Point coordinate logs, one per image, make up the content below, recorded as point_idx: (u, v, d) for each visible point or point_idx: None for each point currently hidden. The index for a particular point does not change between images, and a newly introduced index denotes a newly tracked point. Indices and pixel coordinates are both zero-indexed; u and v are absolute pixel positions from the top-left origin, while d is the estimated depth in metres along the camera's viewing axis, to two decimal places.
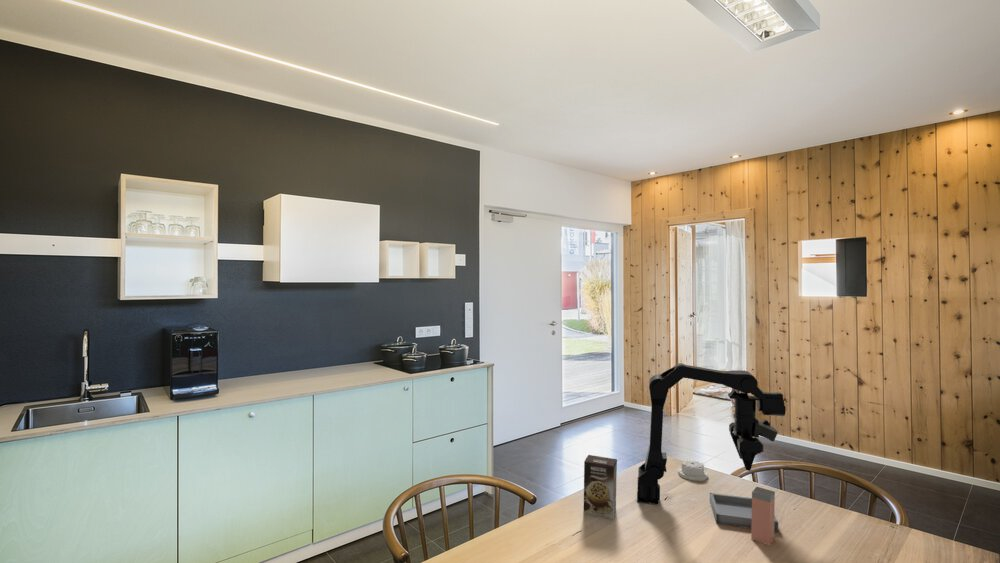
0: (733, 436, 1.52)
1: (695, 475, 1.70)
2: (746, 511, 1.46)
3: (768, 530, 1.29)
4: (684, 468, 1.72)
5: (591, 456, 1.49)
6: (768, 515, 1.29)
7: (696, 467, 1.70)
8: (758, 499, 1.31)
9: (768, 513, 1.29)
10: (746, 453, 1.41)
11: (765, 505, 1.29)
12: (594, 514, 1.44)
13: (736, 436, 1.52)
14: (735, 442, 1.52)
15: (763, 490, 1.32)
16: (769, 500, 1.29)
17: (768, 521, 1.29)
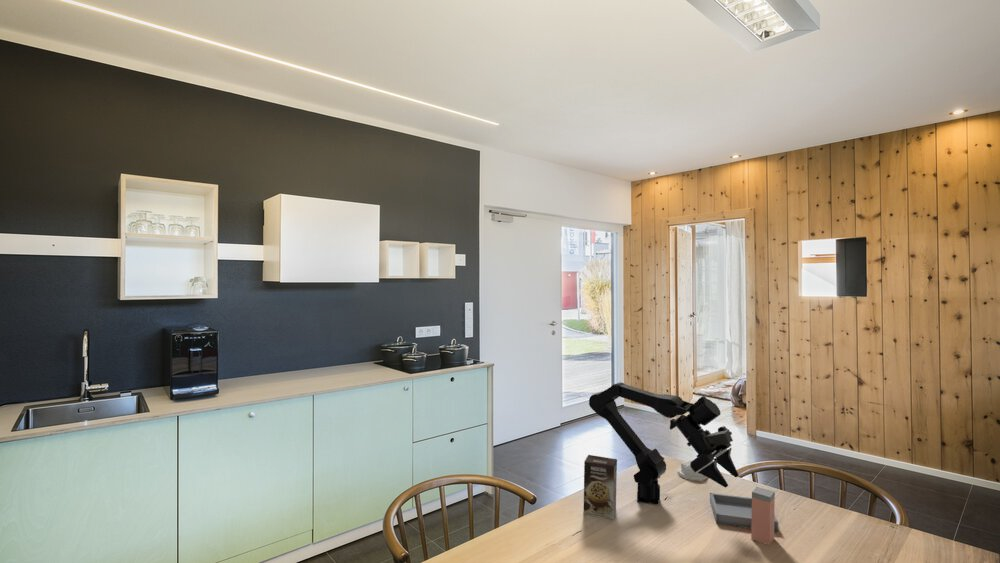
0: (715, 459, 1.45)
1: (695, 475, 1.70)
2: (746, 511, 1.46)
3: (768, 530, 1.29)
4: (684, 468, 1.72)
5: (591, 456, 1.49)
6: (768, 515, 1.29)
7: None
8: (758, 499, 1.31)
9: (768, 513, 1.29)
10: (709, 471, 1.36)
11: (765, 505, 1.29)
12: (594, 514, 1.44)
13: (717, 457, 1.45)
14: (720, 464, 1.44)
15: (763, 490, 1.32)
16: (769, 500, 1.29)
17: (768, 521, 1.29)
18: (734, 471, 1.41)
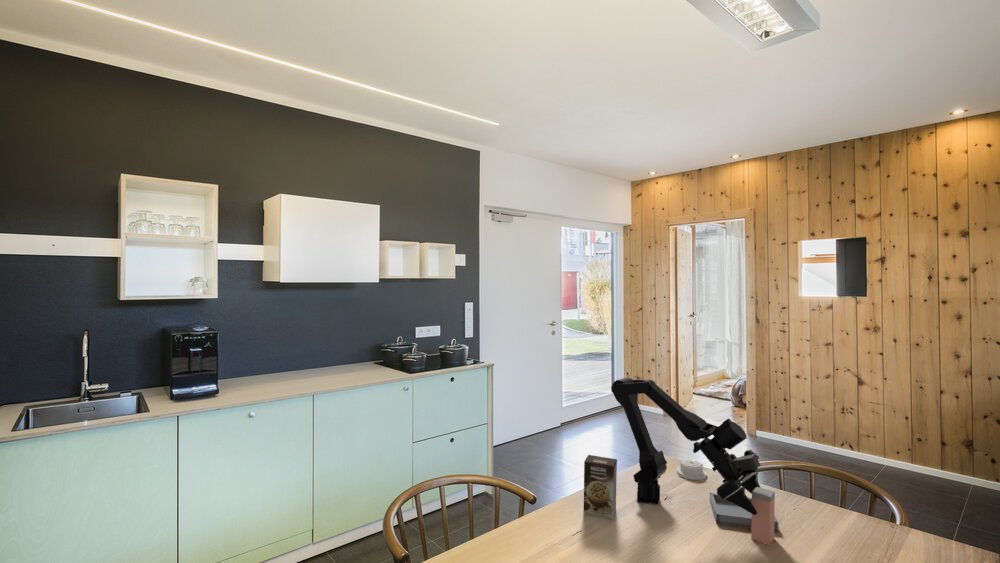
0: (742, 484, 1.40)
1: (694, 474, 1.70)
2: (746, 511, 1.46)
3: (768, 530, 1.29)
4: (683, 467, 1.73)
5: (591, 456, 1.49)
6: (768, 515, 1.29)
7: (695, 466, 1.71)
8: (758, 499, 1.31)
9: (768, 513, 1.29)
10: (737, 498, 1.31)
11: (765, 505, 1.29)
12: (594, 514, 1.44)
13: (744, 482, 1.40)
14: (747, 489, 1.39)
15: (763, 490, 1.32)
16: (769, 500, 1.29)
17: (768, 521, 1.29)
18: None
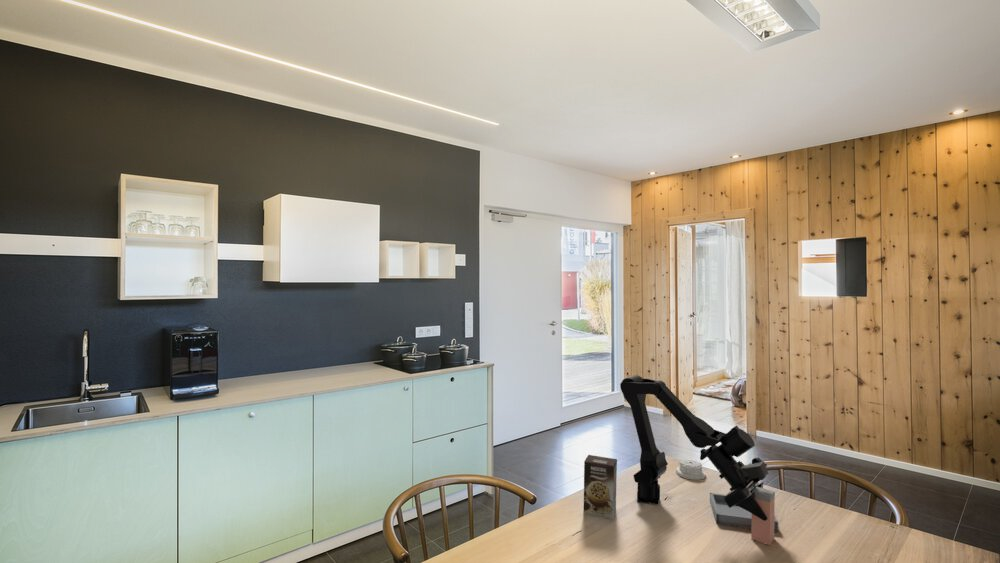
0: None
1: (693, 474, 1.70)
2: (746, 511, 1.46)
3: (768, 530, 1.29)
4: (682, 467, 1.73)
5: (591, 456, 1.49)
6: (768, 515, 1.29)
7: (694, 466, 1.71)
8: (758, 499, 1.31)
9: (768, 513, 1.29)
10: (747, 504, 1.31)
11: (765, 505, 1.29)
12: (594, 514, 1.44)
13: None
14: None
15: (763, 490, 1.32)
16: (769, 500, 1.29)
17: (768, 521, 1.29)
18: None
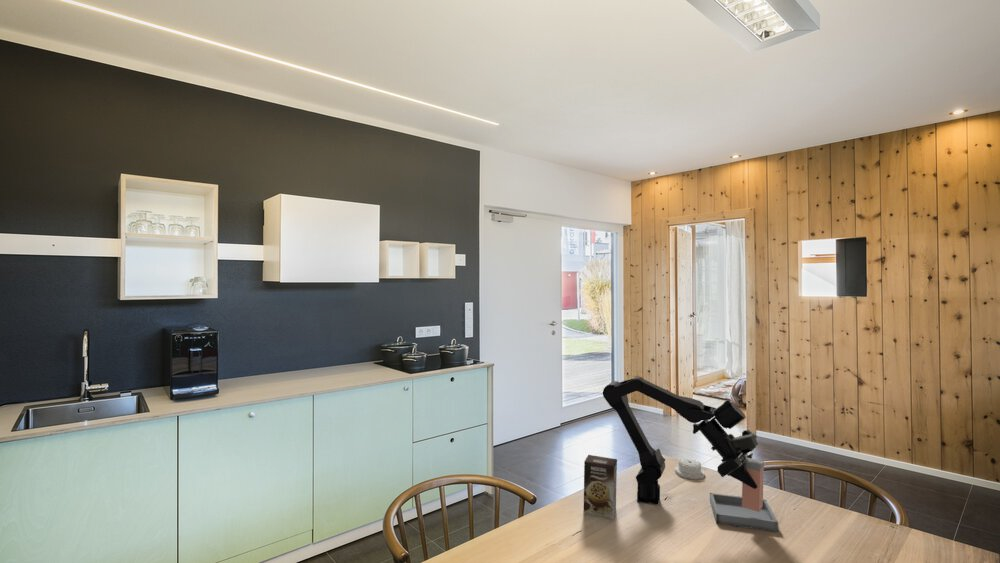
0: None
1: (692, 473, 1.71)
2: (746, 511, 1.46)
3: (758, 498, 1.35)
4: (681, 466, 1.73)
5: (591, 456, 1.49)
6: (758, 483, 1.35)
7: (693, 466, 1.72)
8: (749, 468, 1.37)
9: (758, 481, 1.35)
10: (738, 473, 1.37)
11: (755, 474, 1.36)
12: (594, 514, 1.44)
13: None
14: None
15: (753, 460, 1.39)
16: (759, 469, 1.35)
17: (758, 489, 1.35)
18: None
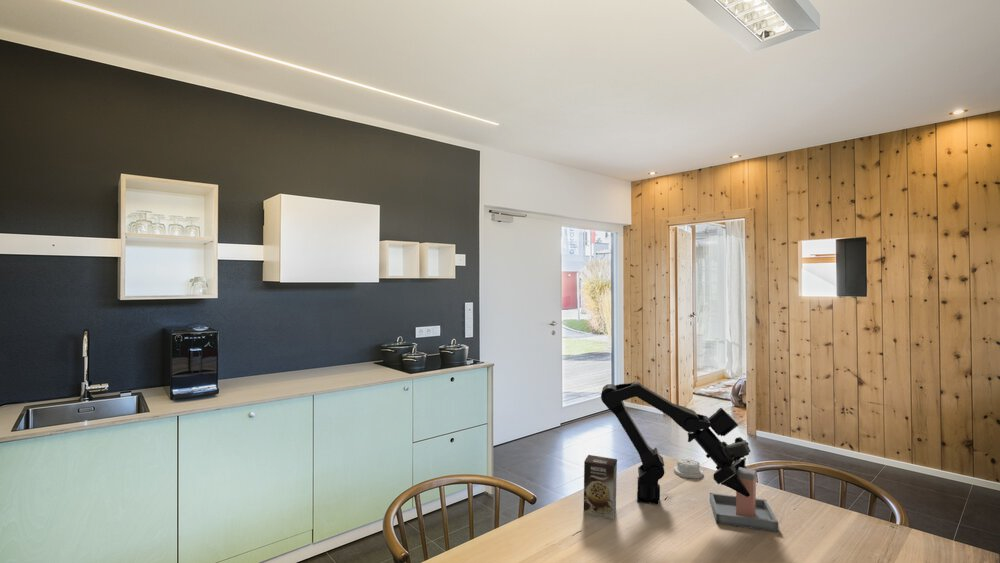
0: None
1: (691, 473, 1.71)
2: None
3: (751, 506, 1.41)
4: (680, 466, 1.74)
5: (591, 456, 1.49)
6: (751, 492, 1.40)
7: (692, 465, 1.72)
8: (742, 478, 1.42)
9: (751, 490, 1.40)
10: (731, 482, 1.41)
11: (748, 483, 1.41)
12: (594, 514, 1.44)
13: None
14: None
15: (746, 470, 1.44)
16: (752, 478, 1.40)
17: (751, 498, 1.40)
18: None
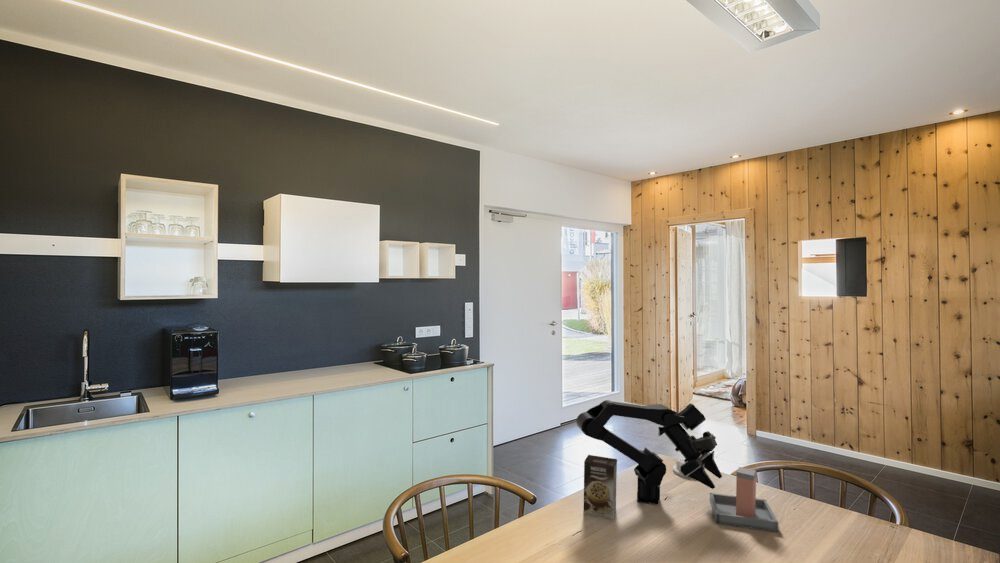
0: None
1: None
2: None
3: (751, 506, 1.41)
4: (679, 465, 1.74)
5: (591, 456, 1.49)
6: (751, 492, 1.40)
7: None
8: (742, 478, 1.42)
9: (751, 490, 1.40)
10: (698, 474, 1.46)
11: (748, 483, 1.41)
12: (594, 514, 1.44)
13: (702, 461, 1.56)
14: (705, 466, 1.55)
15: (746, 470, 1.44)
16: (752, 478, 1.40)
17: (751, 498, 1.40)
18: (718, 473, 1.52)
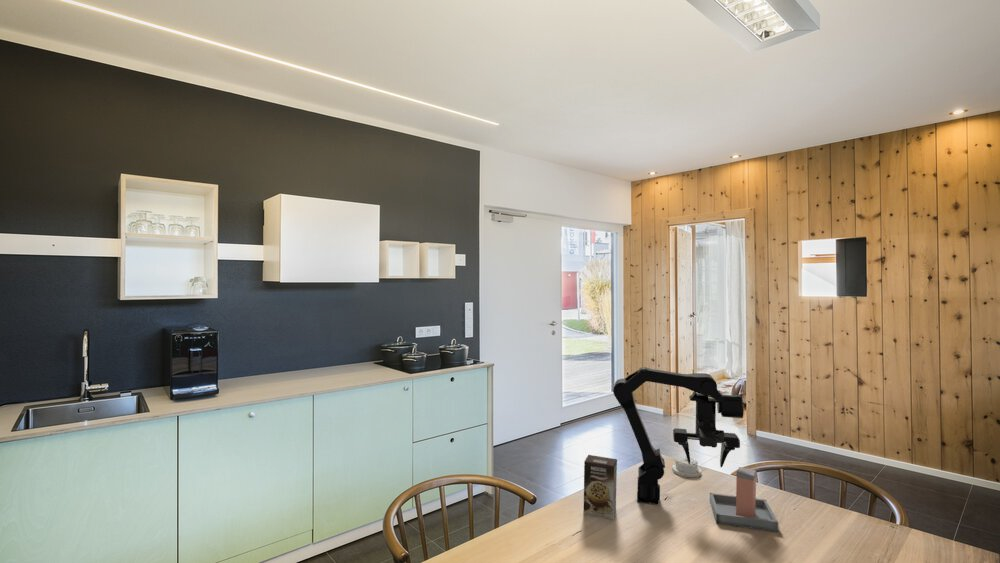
0: None
1: (689, 472, 1.72)
2: None
3: (751, 506, 1.41)
4: (678, 465, 1.75)
5: (591, 456, 1.49)
6: (751, 492, 1.40)
7: (690, 464, 1.73)
8: (742, 478, 1.42)
9: (751, 490, 1.40)
10: None
11: (748, 483, 1.41)
12: (594, 514, 1.44)
13: (722, 443, 1.50)
14: (721, 449, 1.50)
15: (746, 470, 1.44)
16: (752, 478, 1.40)
17: (751, 498, 1.40)
18: (720, 462, 1.48)
